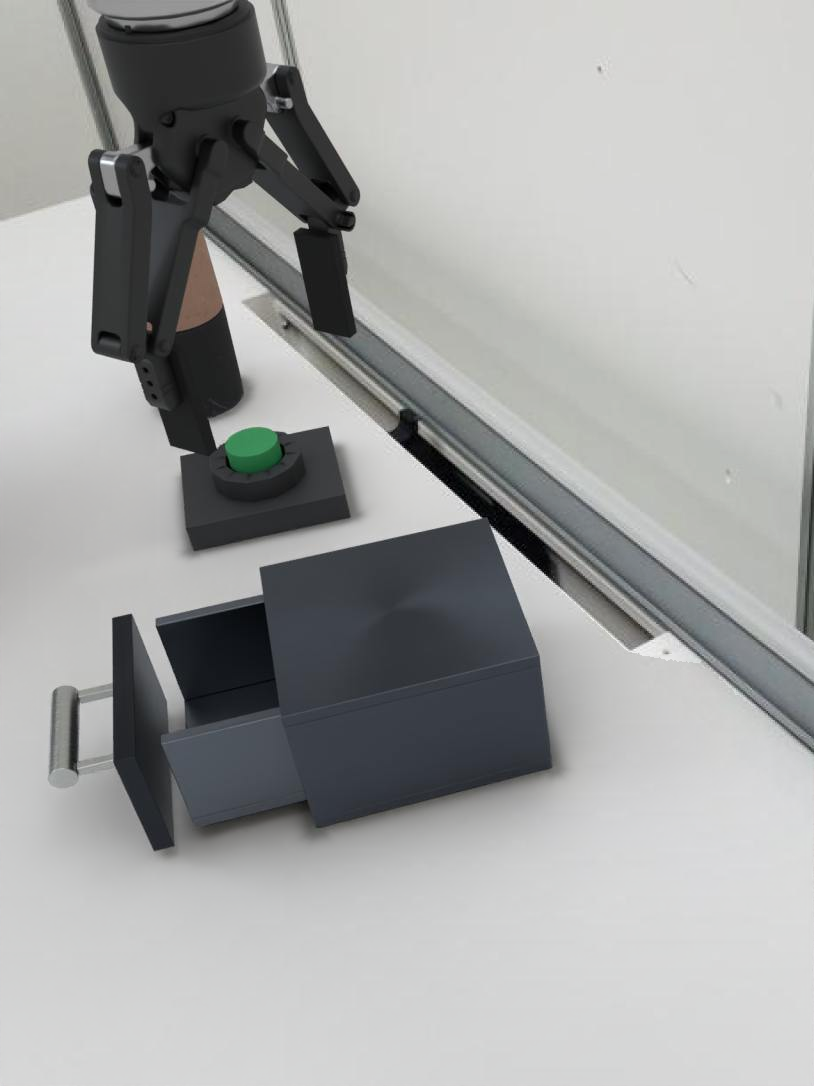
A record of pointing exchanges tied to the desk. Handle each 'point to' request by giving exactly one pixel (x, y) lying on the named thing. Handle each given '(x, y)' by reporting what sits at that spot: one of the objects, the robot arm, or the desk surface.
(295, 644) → the cabinet
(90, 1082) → the desk surface
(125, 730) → the drawer
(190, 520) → the panel
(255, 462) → the button
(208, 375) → the travel mug
